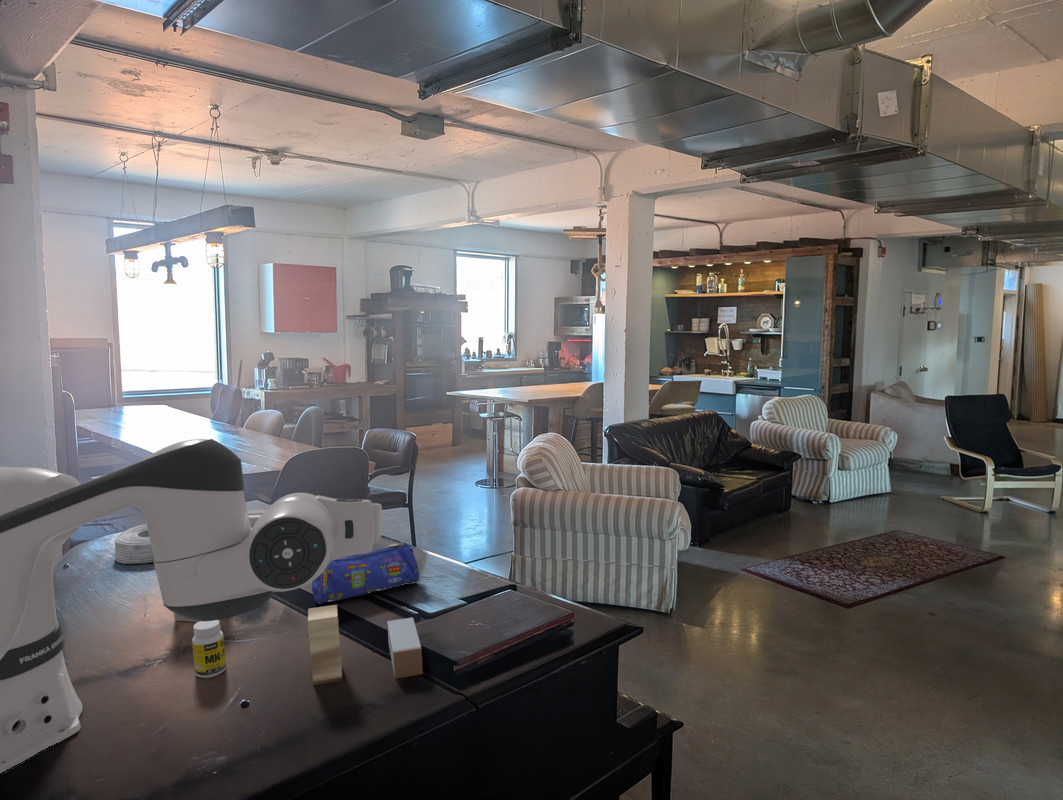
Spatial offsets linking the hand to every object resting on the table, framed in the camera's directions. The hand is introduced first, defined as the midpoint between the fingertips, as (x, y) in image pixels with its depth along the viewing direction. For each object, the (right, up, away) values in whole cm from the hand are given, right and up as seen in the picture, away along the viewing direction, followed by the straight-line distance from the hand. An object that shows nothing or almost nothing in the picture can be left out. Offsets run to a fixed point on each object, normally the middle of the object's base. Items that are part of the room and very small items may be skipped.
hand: (305, 516), depth 100 cm
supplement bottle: (-22, -29, +21) cm, 43 cm away
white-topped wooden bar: (+10, -28, +24) cm, 38 cm away
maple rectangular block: (-2, -29, +19) cm, 35 cm away
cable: (-60, -22, +77) cm, 100 cm away
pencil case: (-3, -24, +51) cm, 56 cm away
